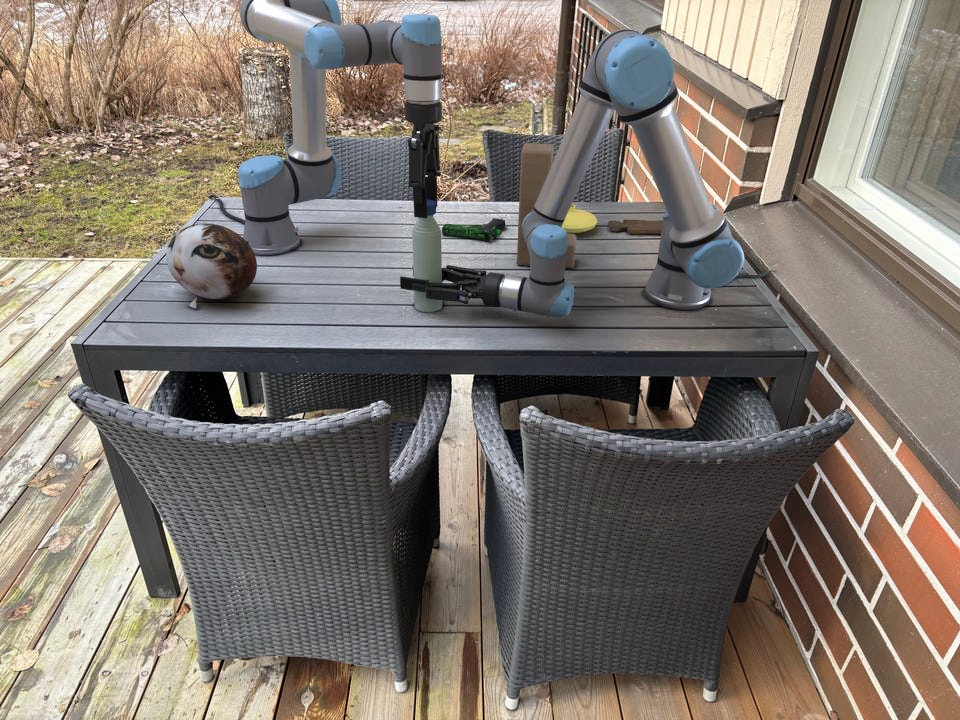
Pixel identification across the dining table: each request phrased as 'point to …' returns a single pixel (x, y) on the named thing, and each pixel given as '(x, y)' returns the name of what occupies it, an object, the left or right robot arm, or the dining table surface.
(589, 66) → the right robot arm
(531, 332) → the dining table surface
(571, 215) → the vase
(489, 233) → the handgun
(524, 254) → the decorative block
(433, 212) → the cap
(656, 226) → the wooden paddle board
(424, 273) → the bottle
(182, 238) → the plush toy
